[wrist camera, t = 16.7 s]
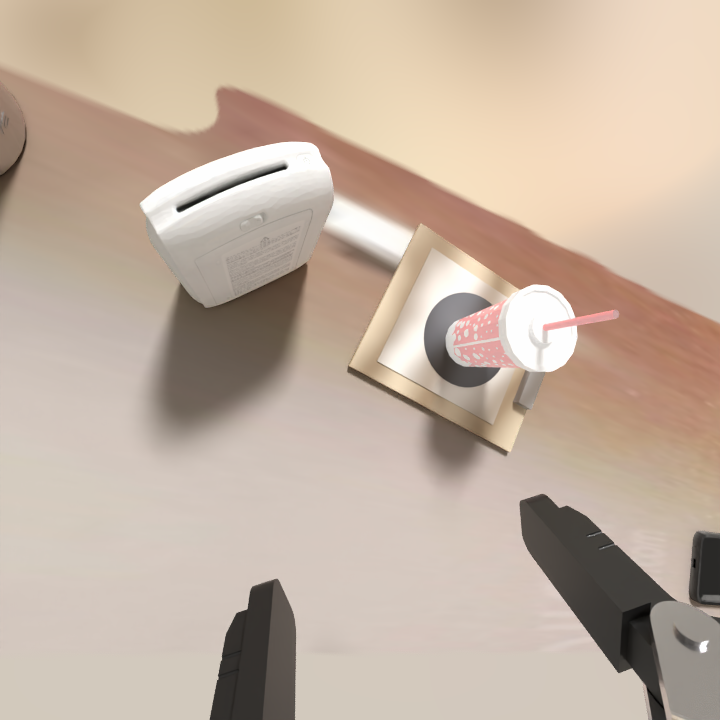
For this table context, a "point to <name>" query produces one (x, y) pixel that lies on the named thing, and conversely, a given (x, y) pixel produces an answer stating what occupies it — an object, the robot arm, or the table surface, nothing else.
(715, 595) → the phone
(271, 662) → the robot arm
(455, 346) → the beverage cup
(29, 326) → the table surface
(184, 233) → the photo printer
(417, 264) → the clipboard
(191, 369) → the table surface
